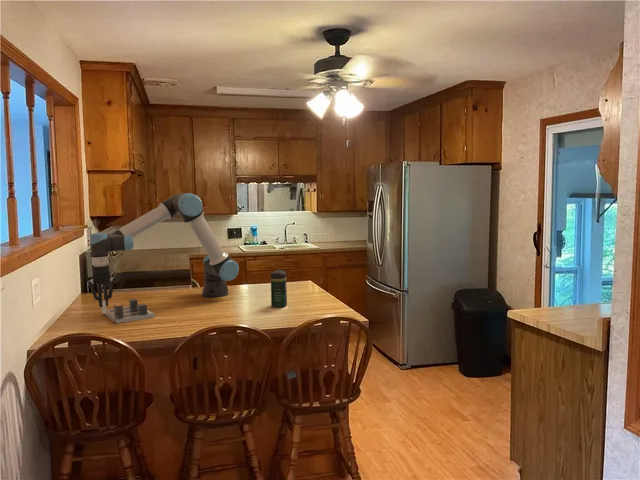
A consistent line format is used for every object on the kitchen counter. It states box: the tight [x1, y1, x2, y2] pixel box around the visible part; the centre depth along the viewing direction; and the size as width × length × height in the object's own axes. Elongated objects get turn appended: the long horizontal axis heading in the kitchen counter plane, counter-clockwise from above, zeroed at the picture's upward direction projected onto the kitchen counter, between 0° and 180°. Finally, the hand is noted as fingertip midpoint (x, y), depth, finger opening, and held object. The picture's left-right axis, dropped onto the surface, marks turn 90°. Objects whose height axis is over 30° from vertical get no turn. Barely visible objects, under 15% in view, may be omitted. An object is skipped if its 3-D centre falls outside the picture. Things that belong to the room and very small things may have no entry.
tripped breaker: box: [113, 303, 124, 314], centre depth 251 cm, size 4×3×4 cm
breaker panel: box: [104, 298, 155, 324], centre depth 254 cm, size 24×18×6 cm
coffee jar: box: [270, 269, 288, 309], centre depth 266 cm, size 10×8×19 cm
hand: (104, 313), depth 247 cm, fingers closed
